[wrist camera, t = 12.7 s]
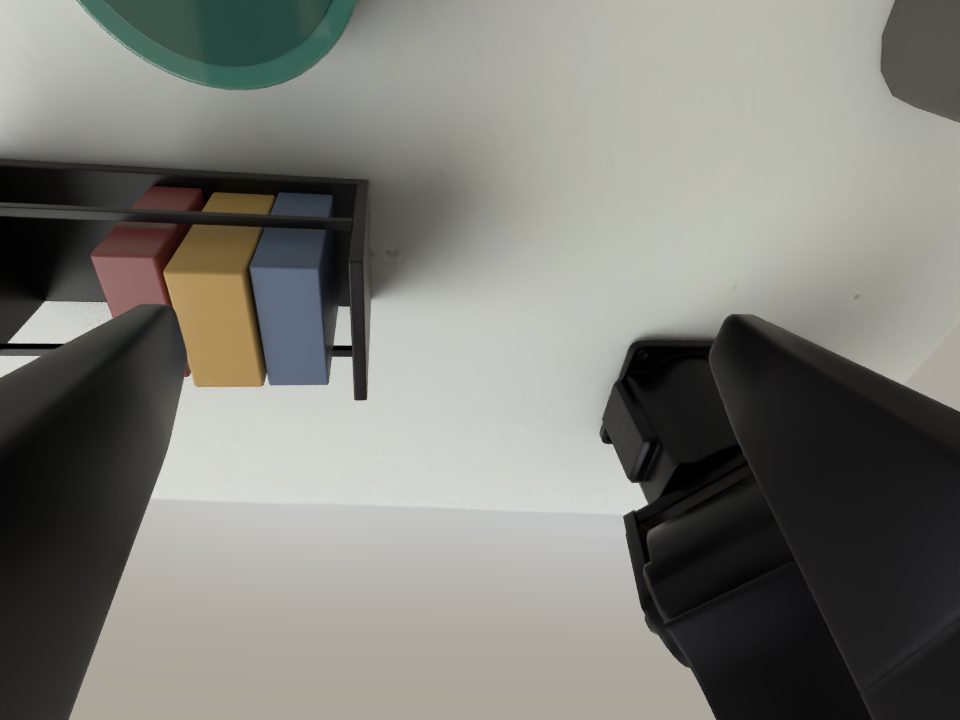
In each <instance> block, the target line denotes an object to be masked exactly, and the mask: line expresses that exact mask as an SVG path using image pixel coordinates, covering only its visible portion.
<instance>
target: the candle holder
mask: <svg viewBox="0 0 960 720" xmlns="http://www.w3.org/2000/svg"><path fill="white" fill-rule="evenodd" d="M881 72H882V74H883V76H884V78H885V81H886V83H887V85H888V87H889V89H890V91H891V93H892V95H893V96H895V97H897V98H898V99H900V100H902V101H904V102H906V103H908V104H910V105H912V106H914V107H916V108H919V109H922V110H925V111H928V112H931V113H934V114H936V115H939V116H942V117H945V118H948V119H951V120H954V121H957V122H959V123H960V0H895V3H894V5H893V8H892V11H891V13H890V16H889V19H888V21H887V24H886V27H885V29H884V32H883V35H882V56H881Z"/></svg>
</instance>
